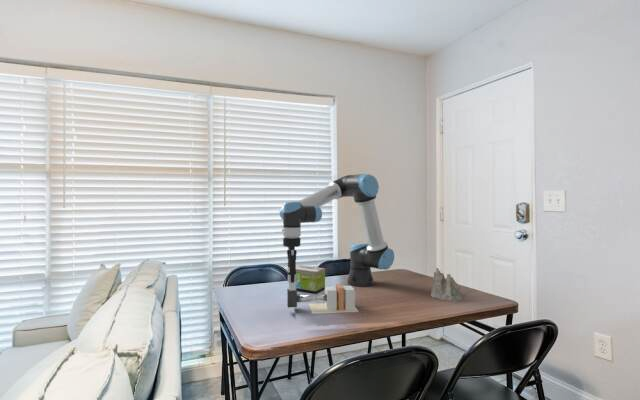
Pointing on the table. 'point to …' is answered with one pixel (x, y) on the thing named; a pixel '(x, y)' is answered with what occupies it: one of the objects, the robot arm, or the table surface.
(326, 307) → the shaft housing
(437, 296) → the grey rock formation
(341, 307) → the block
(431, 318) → the table surface
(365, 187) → the robot arm
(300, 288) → the tea box
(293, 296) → the shaft
